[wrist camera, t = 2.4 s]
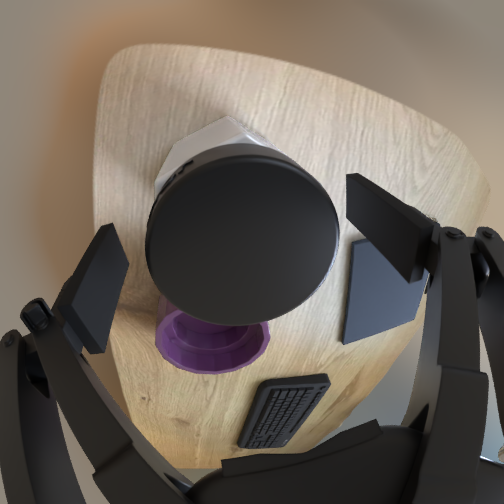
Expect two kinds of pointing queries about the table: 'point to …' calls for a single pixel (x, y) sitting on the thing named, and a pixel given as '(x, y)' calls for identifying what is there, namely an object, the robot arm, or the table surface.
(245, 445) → the keyboard
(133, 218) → the table surface
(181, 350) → the bowl
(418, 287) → the placemat
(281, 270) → the jar
